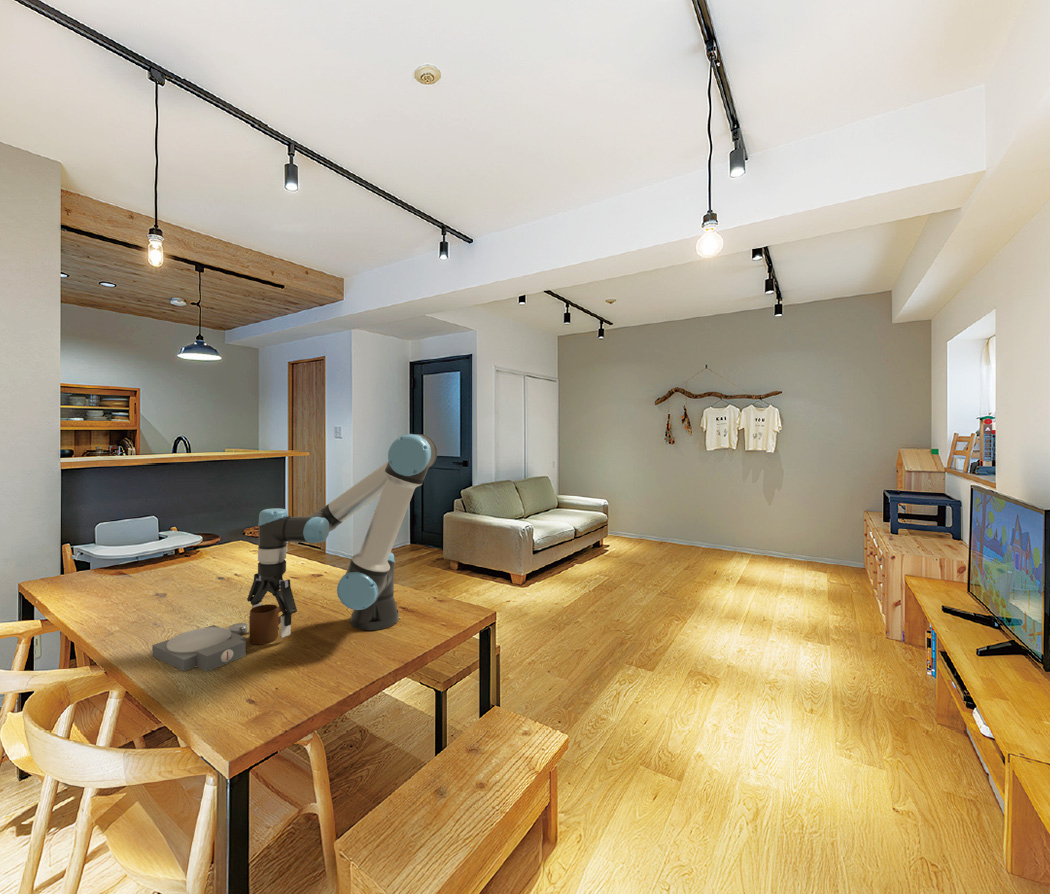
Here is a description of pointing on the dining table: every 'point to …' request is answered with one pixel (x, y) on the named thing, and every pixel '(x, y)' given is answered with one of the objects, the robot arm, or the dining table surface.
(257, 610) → the mug
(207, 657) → the scale
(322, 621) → the dining table surface
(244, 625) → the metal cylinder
